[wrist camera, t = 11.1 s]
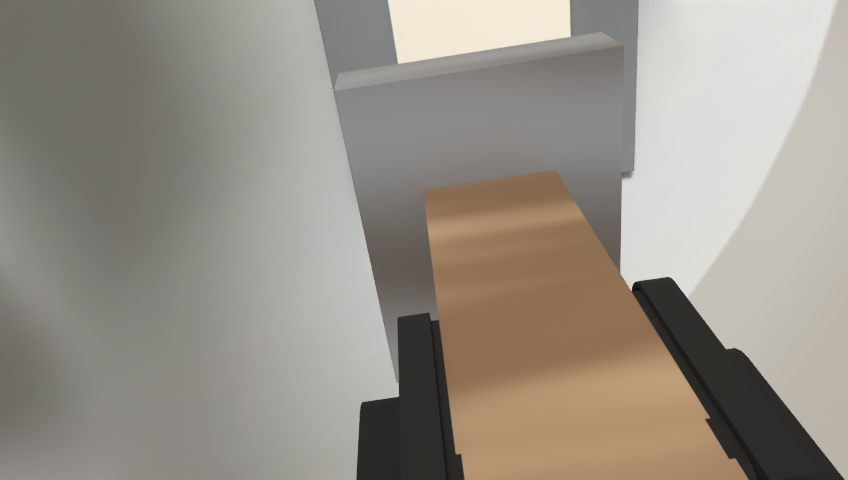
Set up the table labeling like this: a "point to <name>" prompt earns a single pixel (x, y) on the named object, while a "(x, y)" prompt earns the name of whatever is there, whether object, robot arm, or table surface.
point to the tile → (473, 25)
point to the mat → (375, 47)
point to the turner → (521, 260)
